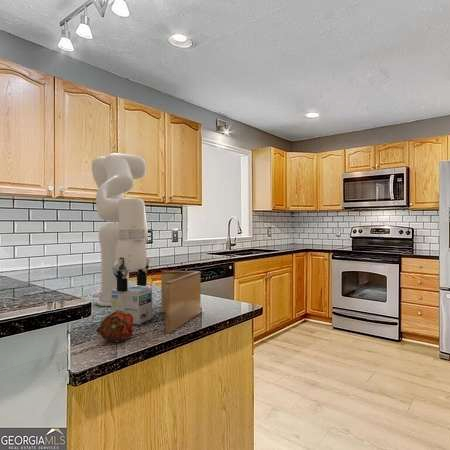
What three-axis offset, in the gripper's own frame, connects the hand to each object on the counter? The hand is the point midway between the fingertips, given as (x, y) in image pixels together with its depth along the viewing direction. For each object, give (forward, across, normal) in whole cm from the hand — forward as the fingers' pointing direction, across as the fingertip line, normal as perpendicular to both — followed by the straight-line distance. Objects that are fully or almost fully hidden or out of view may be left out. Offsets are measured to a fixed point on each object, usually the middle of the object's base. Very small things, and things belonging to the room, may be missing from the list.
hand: (132, 288), depth 105 cm
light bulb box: (+11, 0, 0) cm, 11 cm away
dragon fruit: (+11, +15, +6) cm, 20 cm away
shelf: (+11, -2, +10) cm, 15 cm away
